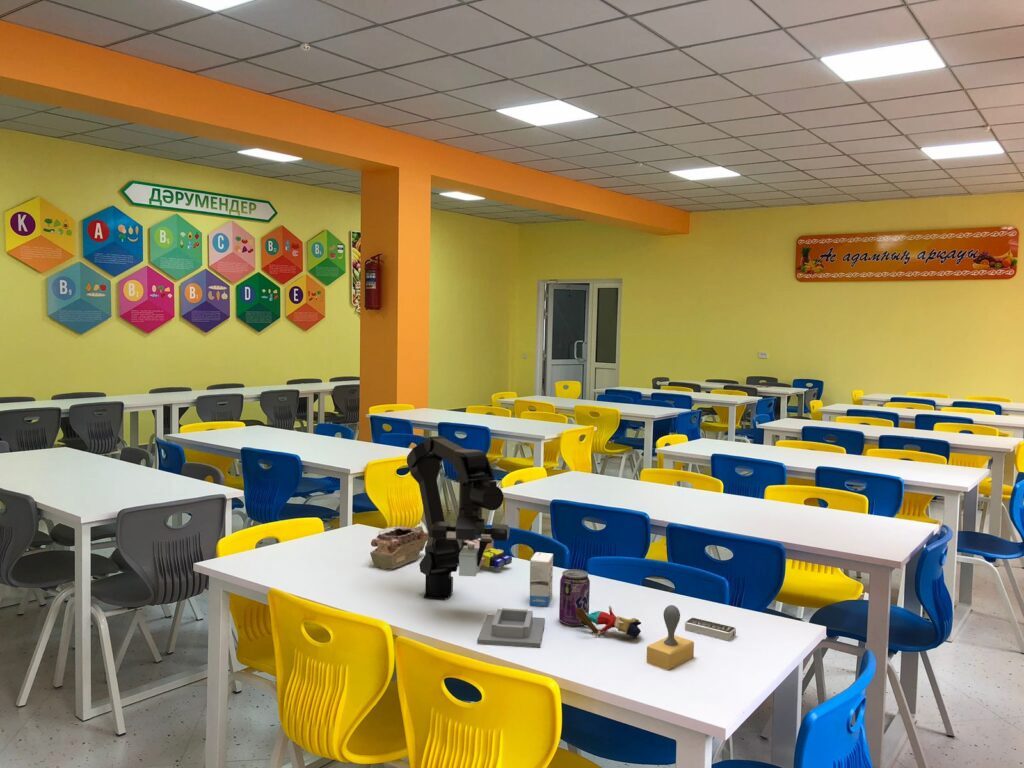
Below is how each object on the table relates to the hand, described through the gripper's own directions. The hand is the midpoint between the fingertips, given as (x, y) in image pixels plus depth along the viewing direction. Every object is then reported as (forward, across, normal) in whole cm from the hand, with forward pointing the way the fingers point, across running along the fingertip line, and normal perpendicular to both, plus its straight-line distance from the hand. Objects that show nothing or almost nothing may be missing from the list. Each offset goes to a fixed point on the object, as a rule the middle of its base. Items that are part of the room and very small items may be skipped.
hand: (469, 565), depth 197 cm
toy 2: (+12, +34, -9) cm, 37 cm away
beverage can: (+12, +26, -2) cm, 29 cm away
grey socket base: (+12, +12, -11) cm, 20 cm away
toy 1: (+12, -2, +40) cm, 42 cm away
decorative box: (+12, -28, +41) cm, 51 cm away
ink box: (+12, +17, +12) cm, 24 cm away
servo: (+2, 0, 0) cm, 2 cm away
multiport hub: (+12, +58, -3) cm, 59 cm away
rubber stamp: (+12, +47, -21) cm, 53 cm away
